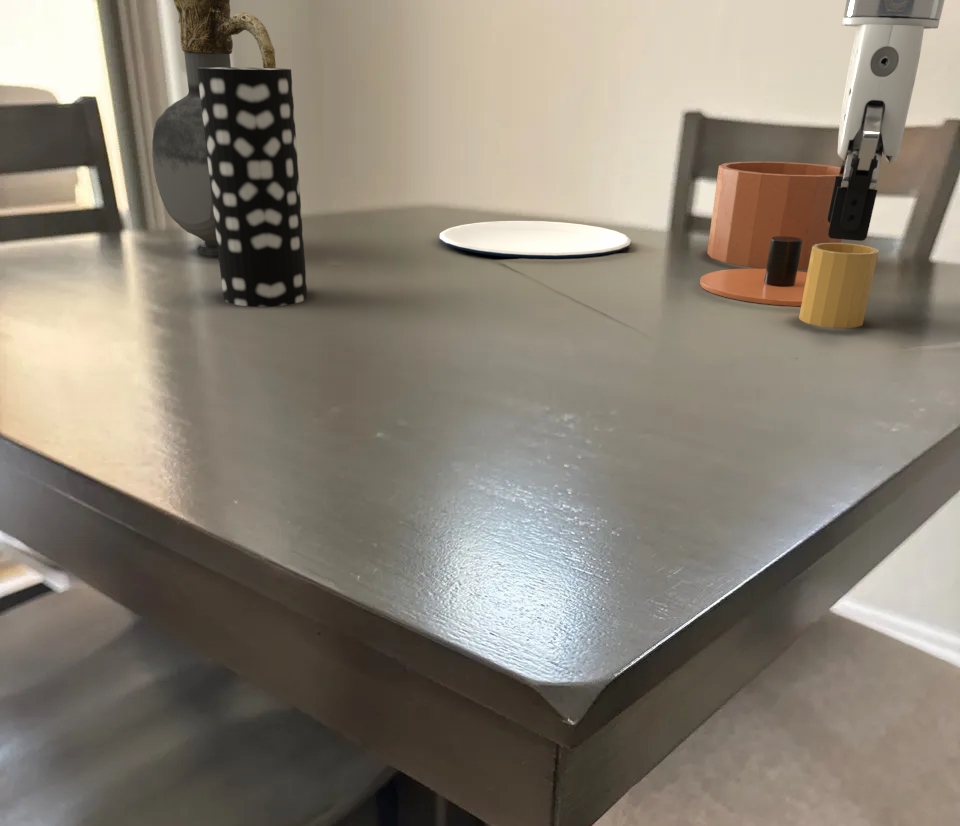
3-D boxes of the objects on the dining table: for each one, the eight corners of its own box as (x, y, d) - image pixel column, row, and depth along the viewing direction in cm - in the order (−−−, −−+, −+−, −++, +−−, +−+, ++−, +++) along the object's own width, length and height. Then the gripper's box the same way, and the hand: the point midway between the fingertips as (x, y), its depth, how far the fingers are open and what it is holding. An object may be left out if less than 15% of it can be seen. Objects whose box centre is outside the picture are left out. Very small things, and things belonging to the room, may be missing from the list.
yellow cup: (834, 317, 96) (850, 241, 92) (874, 331, 91) (892, 252, 88) (785, 321, 94) (799, 244, 90) (824, 336, 89) (840, 255, 86)
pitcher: (226, 239, 126) (195, -42, 110) (323, 260, 116) (305, -48, 100) (152, 250, 119) (109, -49, 103) (249, 273, 109) (217, -57, 93)
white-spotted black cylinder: (323, 294, 100) (308, 69, 89) (276, 311, 93) (254, 70, 83) (256, 286, 103) (235, 66, 92) (206, 301, 96) (177, 67, 86)
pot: (785, 248, 129) (800, 160, 124) (864, 270, 117) (885, 174, 111) (684, 253, 124) (695, 162, 119) (755, 277, 112) (771, 177, 106)
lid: (793, 275, 114) (803, 223, 111) (892, 306, 100) (906, 248, 98) (670, 283, 108) (676, 229, 105) (757, 317, 95) (767, 256, 92)
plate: (525, 272, 112) (525, 260, 111) (401, 240, 128) (401, 230, 128) (671, 250, 126) (672, 240, 125) (541, 224, 142) (542, 215, 141)
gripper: (954, 2, 71) (894, 249, 80) (932, 12, 85) (883, 221, 94) (848, -1, 73) (800, 242, 82) (843, 9, 87) (804, 215, 96)
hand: (845, 230), depth 88 cm, fingers open, 9 cm apart
